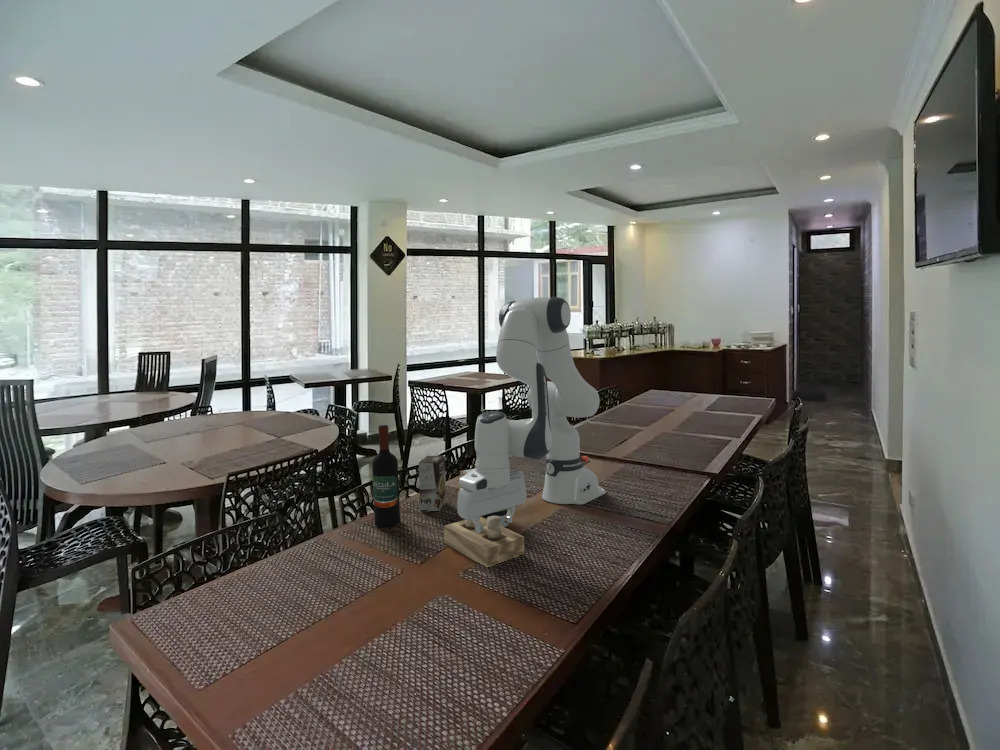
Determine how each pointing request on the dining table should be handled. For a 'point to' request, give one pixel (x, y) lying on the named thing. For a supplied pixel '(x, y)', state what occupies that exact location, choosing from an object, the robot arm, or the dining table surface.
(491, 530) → the birch peg
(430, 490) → the coffee box
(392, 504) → the wine bottle
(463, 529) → the wooden peg holder
